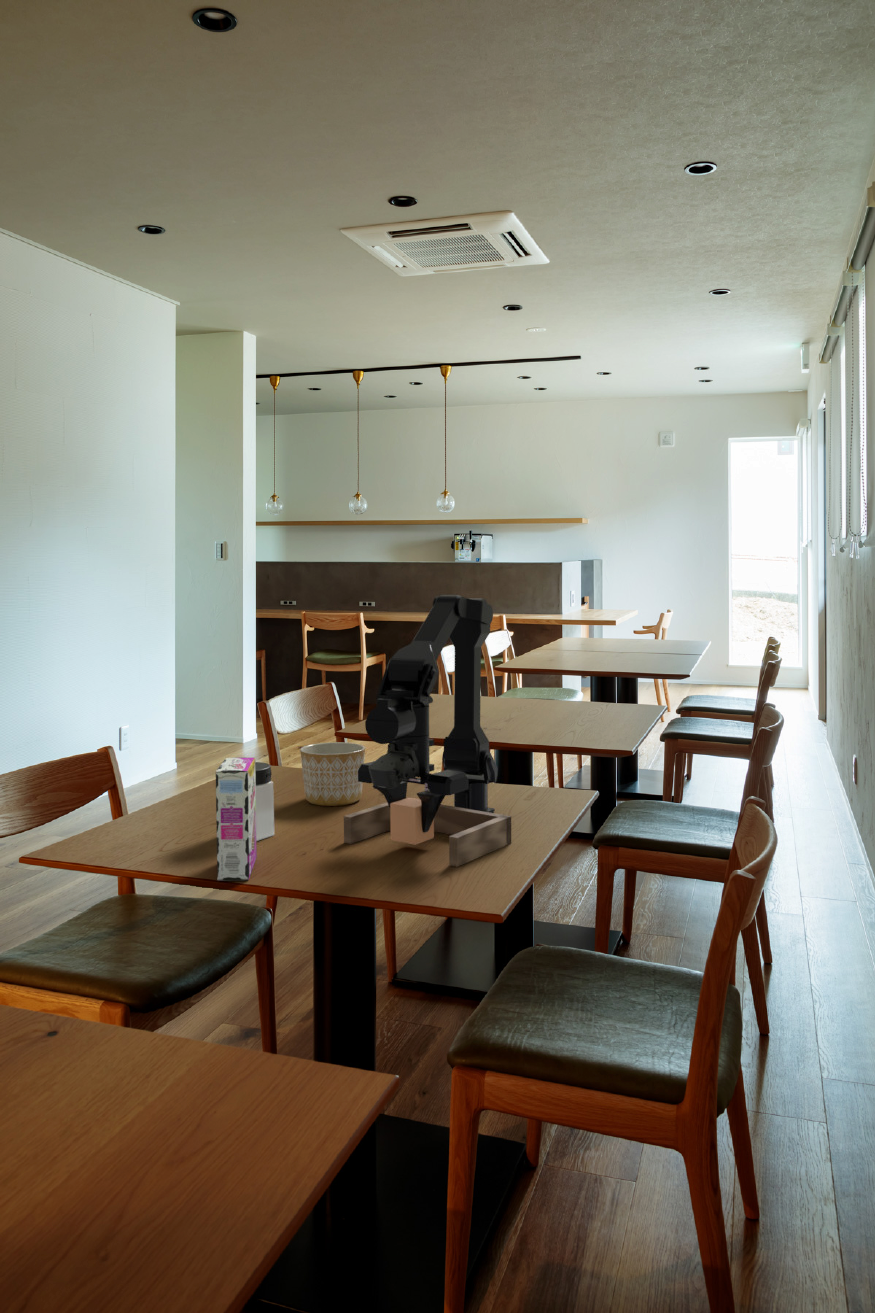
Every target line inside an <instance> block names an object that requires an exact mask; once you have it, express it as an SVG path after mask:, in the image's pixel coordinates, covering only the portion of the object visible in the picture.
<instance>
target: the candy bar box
mask: <svg viewBox="0 0 875 1313" xmlns="http://www.w3.org/2000/svg"><path fill="white" fill-rule="evenodd" d="M255 762H256V757H244V756H243V757H225V758H224V760H223V761H222V762H221V764H220V765H219V766H218V768H217V769H216V770H215V806H216V808H215V814H216V819H215V820H216V865H217V866H216V872H217V875H216V879H217V881H219V882H220V881H221V882H226V881H227V882H229V881H230V882H231V881H234V882H235V881H248V880H250V877H251V875H252V872H253V869H254V866H255V864H256V860H257V856H258V855H257V841H256V774H255Z"/></svg>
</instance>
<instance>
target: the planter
mask: <svg viewBox="0 0 875 1313" xmlns="http://www.w3.org/2000/svg"><path fill="white" fill-rule="evenodd" d="M299 753H300V760H301V761H300V762H301V769H302V771H301V772H302V777H303V786H304V796H305V798H306V801H307V802H308V803H310V804H313V805H316V806H321V807H340V806H346V805H351V804H355V803H357V802H358V801H359V800H361V798H362V796H363V795H362V794H363V783H364V782H358V770H359V768H360V766H361V764H365V758H366V757H365V755H366V747H365V746H364V745H362V744H359V743H354V742H353V743H352V742H337V741H336V742H319V743H313V744H312V743H311V744H308V745H304V746H301V748H300V749H299Z"/></svg>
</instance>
